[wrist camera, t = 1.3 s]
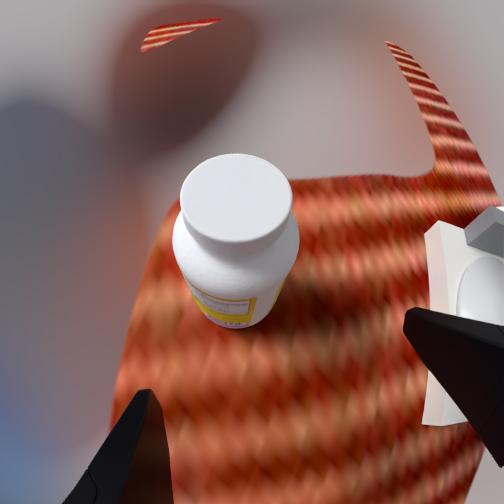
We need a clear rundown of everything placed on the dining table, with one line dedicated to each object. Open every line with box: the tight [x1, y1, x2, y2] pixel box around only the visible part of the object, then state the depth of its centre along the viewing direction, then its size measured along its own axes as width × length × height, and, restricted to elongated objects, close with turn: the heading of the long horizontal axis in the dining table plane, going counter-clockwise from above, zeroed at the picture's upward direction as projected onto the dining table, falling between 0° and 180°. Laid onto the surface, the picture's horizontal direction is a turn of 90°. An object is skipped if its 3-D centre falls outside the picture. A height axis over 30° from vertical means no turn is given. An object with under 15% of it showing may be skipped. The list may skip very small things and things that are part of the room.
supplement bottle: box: [173, 154, 299, 328], centre depth 17 cm, size 7×7×13 cm
